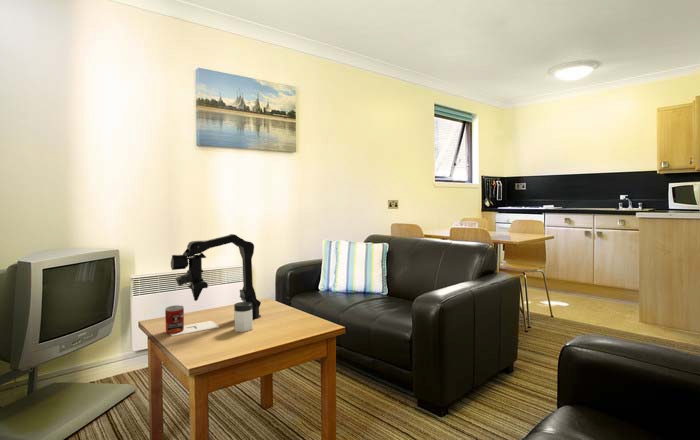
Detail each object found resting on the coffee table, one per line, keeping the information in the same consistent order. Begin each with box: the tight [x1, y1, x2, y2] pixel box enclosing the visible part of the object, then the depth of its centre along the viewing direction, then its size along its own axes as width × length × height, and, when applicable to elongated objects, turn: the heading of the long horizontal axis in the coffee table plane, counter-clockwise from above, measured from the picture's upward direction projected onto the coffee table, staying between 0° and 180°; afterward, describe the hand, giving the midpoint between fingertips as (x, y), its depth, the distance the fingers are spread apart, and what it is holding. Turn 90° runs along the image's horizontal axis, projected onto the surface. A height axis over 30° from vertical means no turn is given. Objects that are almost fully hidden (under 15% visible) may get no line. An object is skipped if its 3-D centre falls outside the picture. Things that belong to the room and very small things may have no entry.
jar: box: [233, 301, 254, 333], centre depth 180 cm, size 9×8×12 cm
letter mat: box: [169, 320, 220, 337], centre depth 181 cm, size 21×12×1 cm, turn 126°
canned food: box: [164, 304, 185, 335], centre depth 176 cm, size 8×8×11 cm
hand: (195, 300), depth 182 cm, fingers closed
